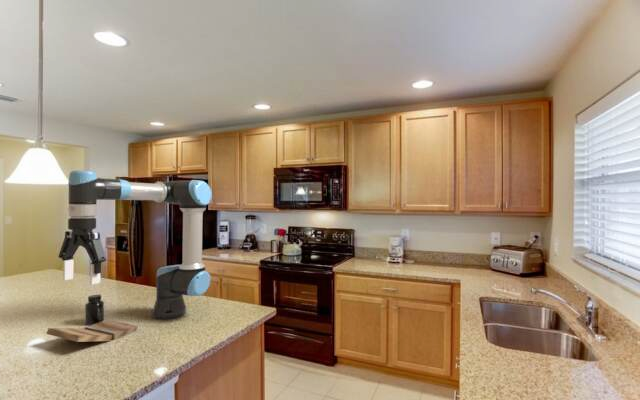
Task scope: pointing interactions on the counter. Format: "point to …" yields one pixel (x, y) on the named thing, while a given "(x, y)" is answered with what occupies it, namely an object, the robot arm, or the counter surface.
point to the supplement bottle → (94, 310)
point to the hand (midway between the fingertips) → (81, 281)
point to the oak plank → (79, 334)
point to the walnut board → (112, 328)
